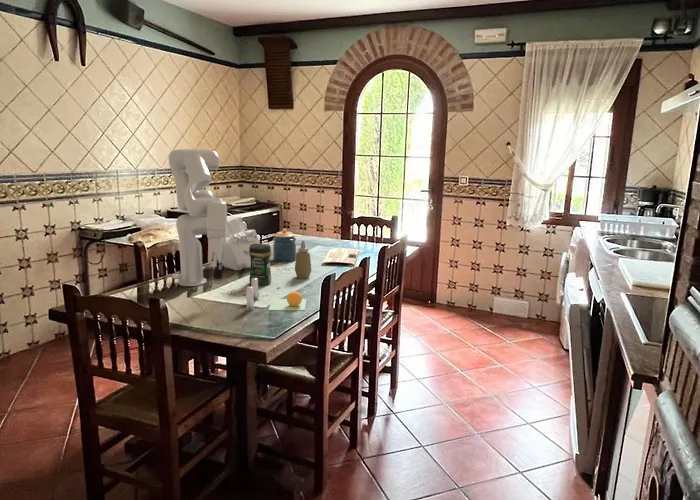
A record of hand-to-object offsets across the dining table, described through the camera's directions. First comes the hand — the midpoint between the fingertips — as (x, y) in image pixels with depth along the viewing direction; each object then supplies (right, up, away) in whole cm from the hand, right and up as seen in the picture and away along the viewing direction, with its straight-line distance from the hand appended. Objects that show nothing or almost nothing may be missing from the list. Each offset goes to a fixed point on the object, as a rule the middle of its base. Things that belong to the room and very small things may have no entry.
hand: (218, 278), depth 198 cm
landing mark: (+27, -11, +3) cm, 29 cm away
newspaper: (+46, +6, +89) cm, 100 cm away
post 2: (+13, -9, +8) cm, 18 cm away
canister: (+16, +5, +83) cm, 84 cm away
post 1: (+14, -12, -4) cm, 19 cm away
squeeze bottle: (+29, -2, +46) cm, 55 cm away
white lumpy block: (-6, +2, +62) cm, 62 cm away
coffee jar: (+11, -4, +33) cm, 35 cm away
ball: (+30, -8, 0) cm, 31 cm away
